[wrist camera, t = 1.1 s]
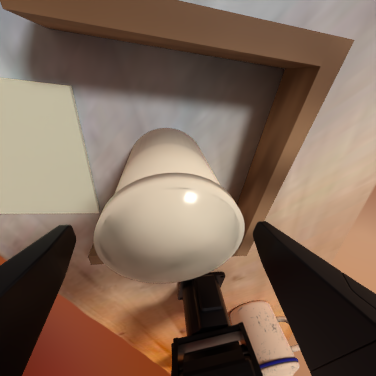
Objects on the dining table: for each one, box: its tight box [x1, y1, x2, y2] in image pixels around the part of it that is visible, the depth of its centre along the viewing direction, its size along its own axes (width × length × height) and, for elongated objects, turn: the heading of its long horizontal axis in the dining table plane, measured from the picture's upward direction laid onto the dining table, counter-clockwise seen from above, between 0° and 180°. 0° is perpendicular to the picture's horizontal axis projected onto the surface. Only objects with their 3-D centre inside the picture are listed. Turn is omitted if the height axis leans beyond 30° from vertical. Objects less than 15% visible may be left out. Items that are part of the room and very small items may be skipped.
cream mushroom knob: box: [93, 128, 245, 283], centre depth 11 cm, size 9×6×8 cm
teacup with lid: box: [230, 301, 300, 376], centre depth 30 cm, size 12×9×12 cm
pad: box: [0, 78, 100, 214], centre depth 12 cm, size 10×9×1 cm
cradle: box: [0, 0, 354, 265], centre depth 13 cm, size 17×15×3 cm
